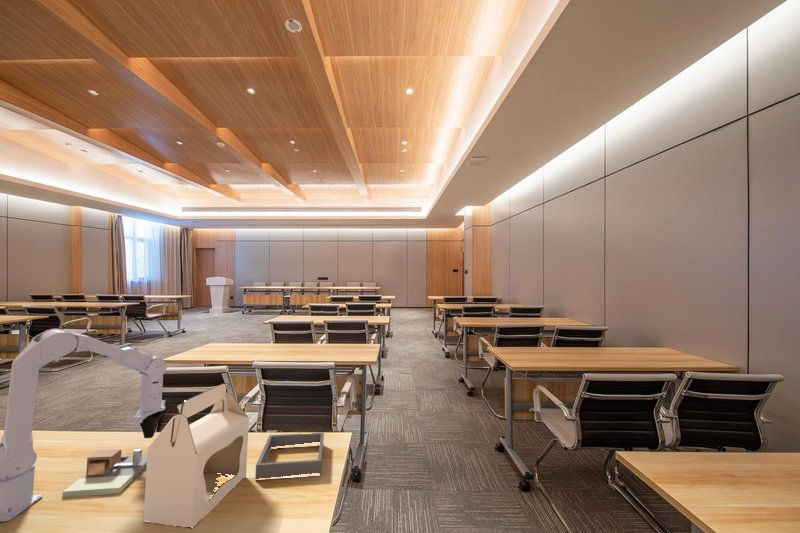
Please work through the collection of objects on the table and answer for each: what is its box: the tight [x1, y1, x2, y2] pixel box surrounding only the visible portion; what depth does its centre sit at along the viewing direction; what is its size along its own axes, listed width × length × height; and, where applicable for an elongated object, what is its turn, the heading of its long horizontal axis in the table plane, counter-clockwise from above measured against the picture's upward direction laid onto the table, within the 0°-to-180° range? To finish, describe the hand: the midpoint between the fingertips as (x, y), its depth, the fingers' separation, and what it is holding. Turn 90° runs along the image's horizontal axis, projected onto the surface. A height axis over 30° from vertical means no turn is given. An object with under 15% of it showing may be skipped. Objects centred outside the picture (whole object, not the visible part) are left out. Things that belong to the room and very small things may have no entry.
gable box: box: [142, 383, 250, 528], centre depth 92 cm, size 22×13×28 cm, turn 172°
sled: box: [88, 448, 143, 476], centre depth 101 cm, size 8×10×4 cm
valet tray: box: [255, 431, 325, 479], centre depth 110 cm, size 20×19×4 cm
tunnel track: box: [62, 448, 147, 498], centre depth 100 cm, size 18×13×6 cm
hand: (149, 437), depth 109 cm, fingers closed
